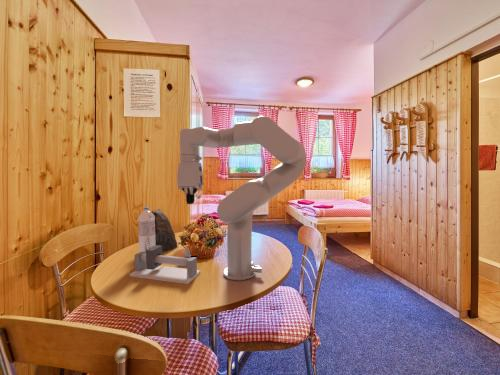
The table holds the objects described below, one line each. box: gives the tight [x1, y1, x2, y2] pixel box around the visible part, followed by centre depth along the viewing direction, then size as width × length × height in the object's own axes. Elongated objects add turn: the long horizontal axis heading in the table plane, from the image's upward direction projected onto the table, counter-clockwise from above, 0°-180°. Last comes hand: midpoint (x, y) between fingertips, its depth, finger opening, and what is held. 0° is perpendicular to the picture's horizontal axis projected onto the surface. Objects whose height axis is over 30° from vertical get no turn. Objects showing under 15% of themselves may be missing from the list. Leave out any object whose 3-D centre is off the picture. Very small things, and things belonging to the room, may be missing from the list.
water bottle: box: [137, 206, 156, 254], centre depth 108 cm, size 7×7×25 cm
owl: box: [151, 208, 178, 253], centre depth 129 cm, size 13×13×20 cm
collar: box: [146, 245, 163, 270], centre depth 99 cm, size 3×6×8 cm, turn 166°
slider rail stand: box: [129, 252, 201, 285], centre depth 98 cm, size 25×10×8 cm, turn 76°
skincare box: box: [184, 230, 191, 258], centre depth 119 cm, size 6×4×12 cm
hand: (190, 203), depth 104 cm, fingers closed
